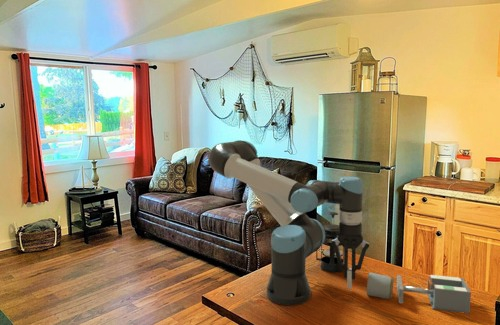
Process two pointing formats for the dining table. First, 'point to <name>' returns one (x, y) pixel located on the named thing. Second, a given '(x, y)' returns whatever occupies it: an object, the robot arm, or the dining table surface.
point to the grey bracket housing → (450, 294)
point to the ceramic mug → (379, 286)
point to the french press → (330, 259)
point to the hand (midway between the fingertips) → (349, 287)
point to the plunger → (412, 288)
